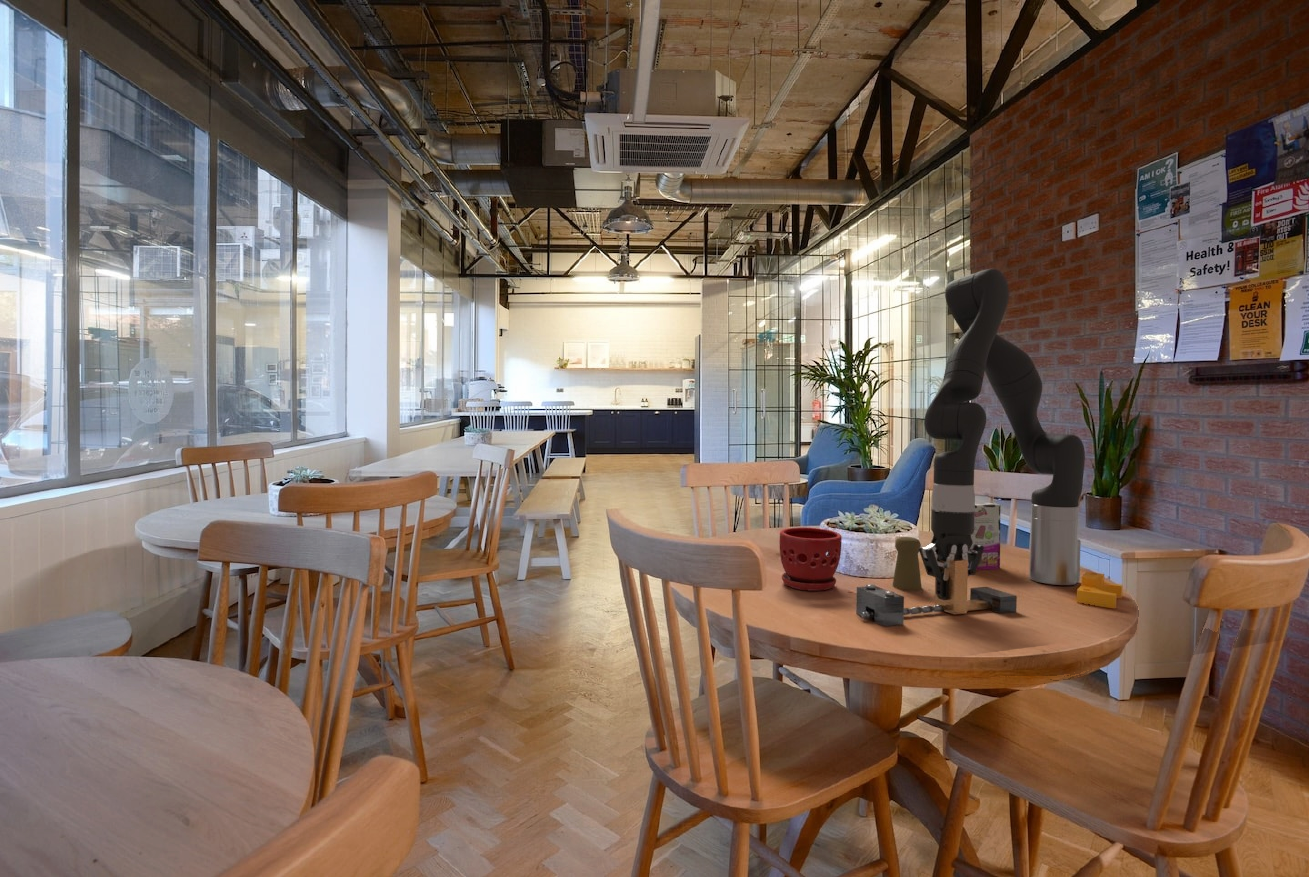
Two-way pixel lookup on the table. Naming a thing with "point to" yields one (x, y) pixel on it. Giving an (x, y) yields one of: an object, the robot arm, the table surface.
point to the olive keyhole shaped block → (907, 564)
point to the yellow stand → (1098, 591)
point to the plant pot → (810, 557)
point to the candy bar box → (987, 534)
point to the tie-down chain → (956, 595)
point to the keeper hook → (995, 599)
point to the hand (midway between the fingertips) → (950, 597)
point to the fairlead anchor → (880, 604)
